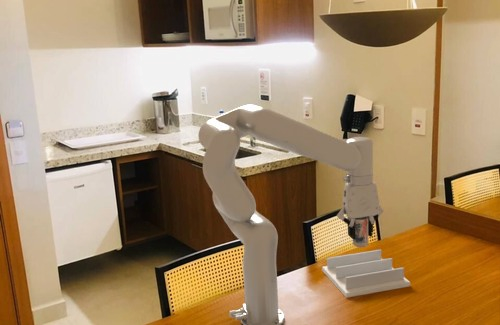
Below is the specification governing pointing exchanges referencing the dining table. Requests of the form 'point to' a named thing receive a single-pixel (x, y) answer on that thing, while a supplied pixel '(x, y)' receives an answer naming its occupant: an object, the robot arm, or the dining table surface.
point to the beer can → (361, 232)
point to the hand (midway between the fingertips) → (360, 235)
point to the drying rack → (364, 273)
